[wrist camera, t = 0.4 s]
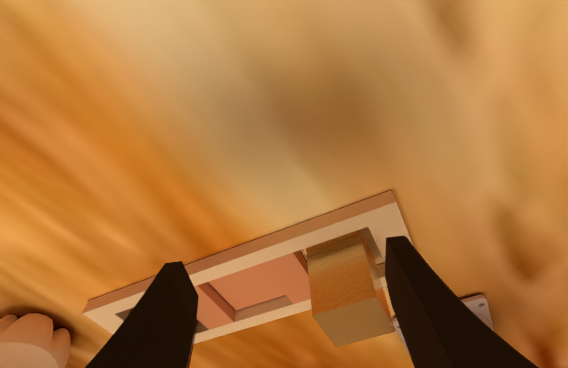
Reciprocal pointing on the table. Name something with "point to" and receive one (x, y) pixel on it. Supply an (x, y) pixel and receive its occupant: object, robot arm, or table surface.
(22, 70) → the table surface
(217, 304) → the beige rectangular frame
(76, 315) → the table surface
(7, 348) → the water bottle
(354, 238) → the brass block
